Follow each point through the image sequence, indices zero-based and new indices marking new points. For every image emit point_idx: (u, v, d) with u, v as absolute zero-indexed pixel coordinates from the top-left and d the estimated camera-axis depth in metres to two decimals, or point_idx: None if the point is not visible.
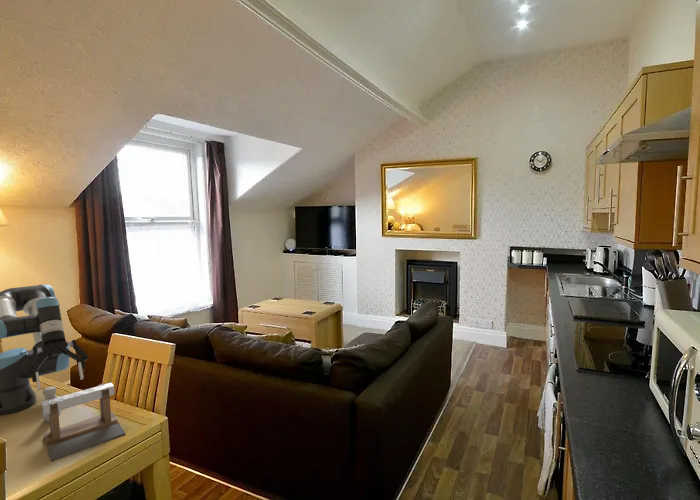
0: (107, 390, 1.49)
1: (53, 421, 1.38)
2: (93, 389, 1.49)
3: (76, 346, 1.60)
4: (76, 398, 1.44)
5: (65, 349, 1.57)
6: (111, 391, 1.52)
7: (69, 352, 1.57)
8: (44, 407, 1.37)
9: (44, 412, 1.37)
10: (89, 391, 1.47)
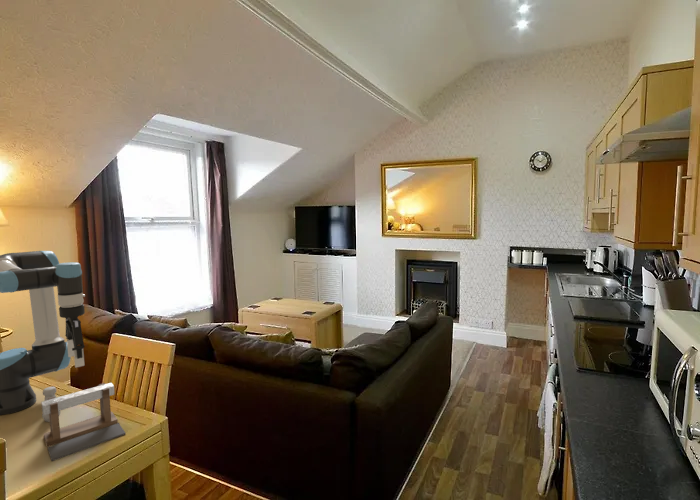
0: (107, 390, 1.49)
1: (53, 421, 1.38)
2: (93, 389, 1.49)
3: None
4: (76, 398, 1.44)
5: None
6: (111, 391, 1.52)
7: None
8: (44, 407, 1.37)
9: (44, 412, 1.37)
10: (89, 391, 1.47)
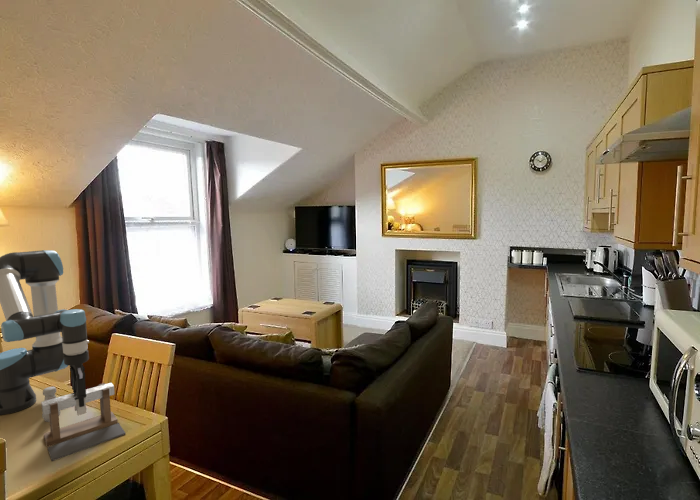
0: (107, 390, 1.49)
1: (53, 421, 1.38)
2: (93, 389, 1.49)
3: None
4: None
5: None
6: (111, 391, 1.52)
7: None
8: (44, 407, 1.37)
9: (44, 412, 1.37)
10: (89, 391, 1.47)
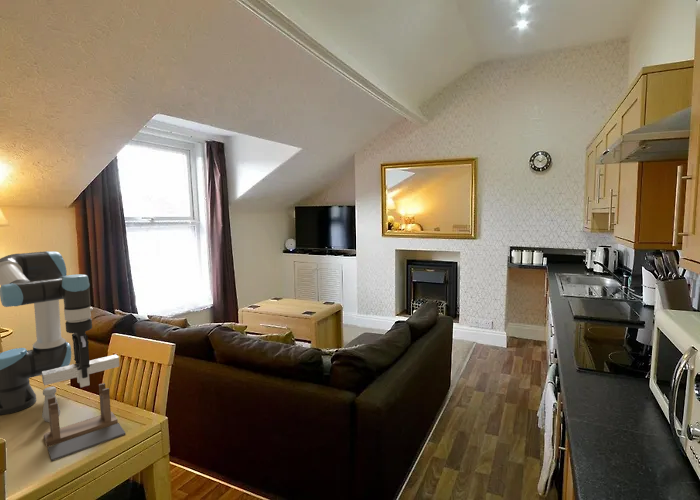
0: (107, 390, 1.49)
1: (53, 421, 1.38)
2: (97, 360, 1.40)
3: None
4: None
5: None
6: (116, 363, 1.43)
7: None
8: (45, 377, 1.28)
9: (45, 382, 1.28)
10: (92, 362, 1.39)
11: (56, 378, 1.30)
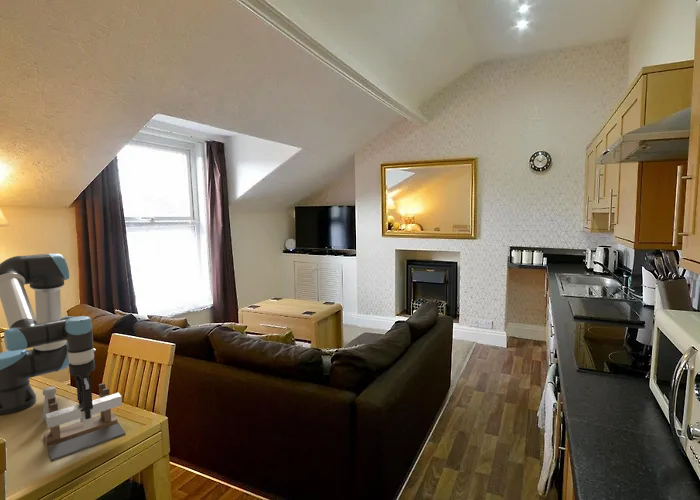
0: (107, 390, 1.49)
1: None
2: (100, 400, 1.42)
3: None
4: None
5: None
6: (119, 402, 1.44)
7: None
8: (49, 420, 1.30)
9: (49, 425, 1.30)
10: (95, 402, 1.40)
11: (60, 420, 1.32)
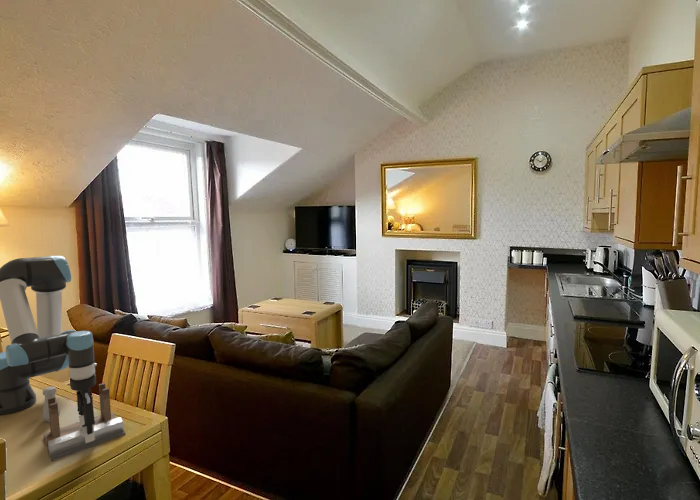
0: (107, 390, 1.49)
1: (53, 421, 1.38)
2: (101, 425, 1.43)
3: None
4: (84, 436, 1.38)
5: None
6: (120, 426, 1.46)
7: None
8: (51, 447, 1.31)
9: (51, 452, 1.31)
10: (97, 427, 1.42)
11: (62, 447, 1.33)
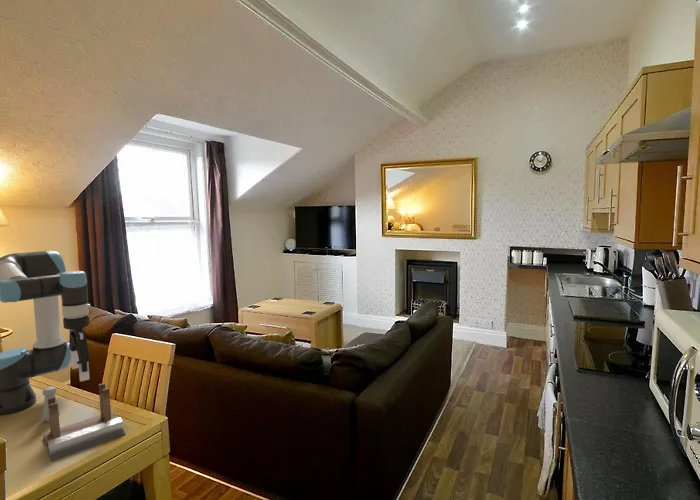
0: (107, 390, 1.49)
1: (53, 421, 1.38)
2: (101, 425, 1.43)
3: None
4: (84, 436, 1.38)
5: None
6: (120, 426, 1.46)
7: None
8: (51, 447, 1.31)
9: (51, 452, 1.31)
10: (97, 427, 1.42)
11: (62, 447, 1.33)
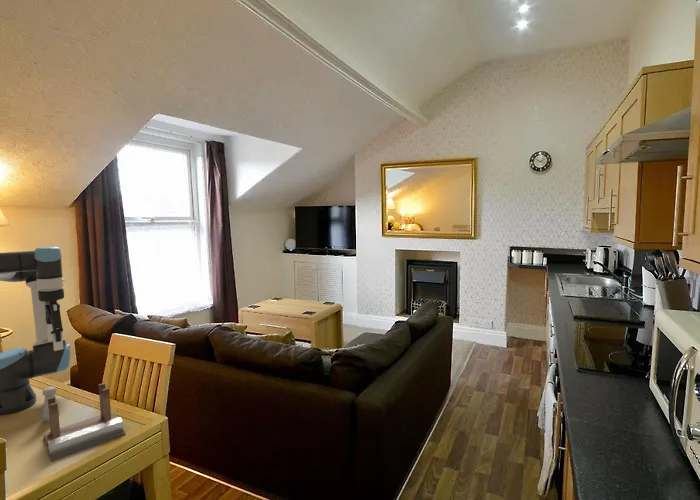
0: (107, 390, 1.49)
1: (53, 421, 1.38)
2: (101, 425, 1.43)
3: None
4: (84, 436, 1.38)
5: None
6: (120, 426, 1.46)
7: None
8: (51, 447, 1.31)
9: (51, 452, 1.31)
10: (97, 427, 1.42)
11: (62, 447, 1.33)
